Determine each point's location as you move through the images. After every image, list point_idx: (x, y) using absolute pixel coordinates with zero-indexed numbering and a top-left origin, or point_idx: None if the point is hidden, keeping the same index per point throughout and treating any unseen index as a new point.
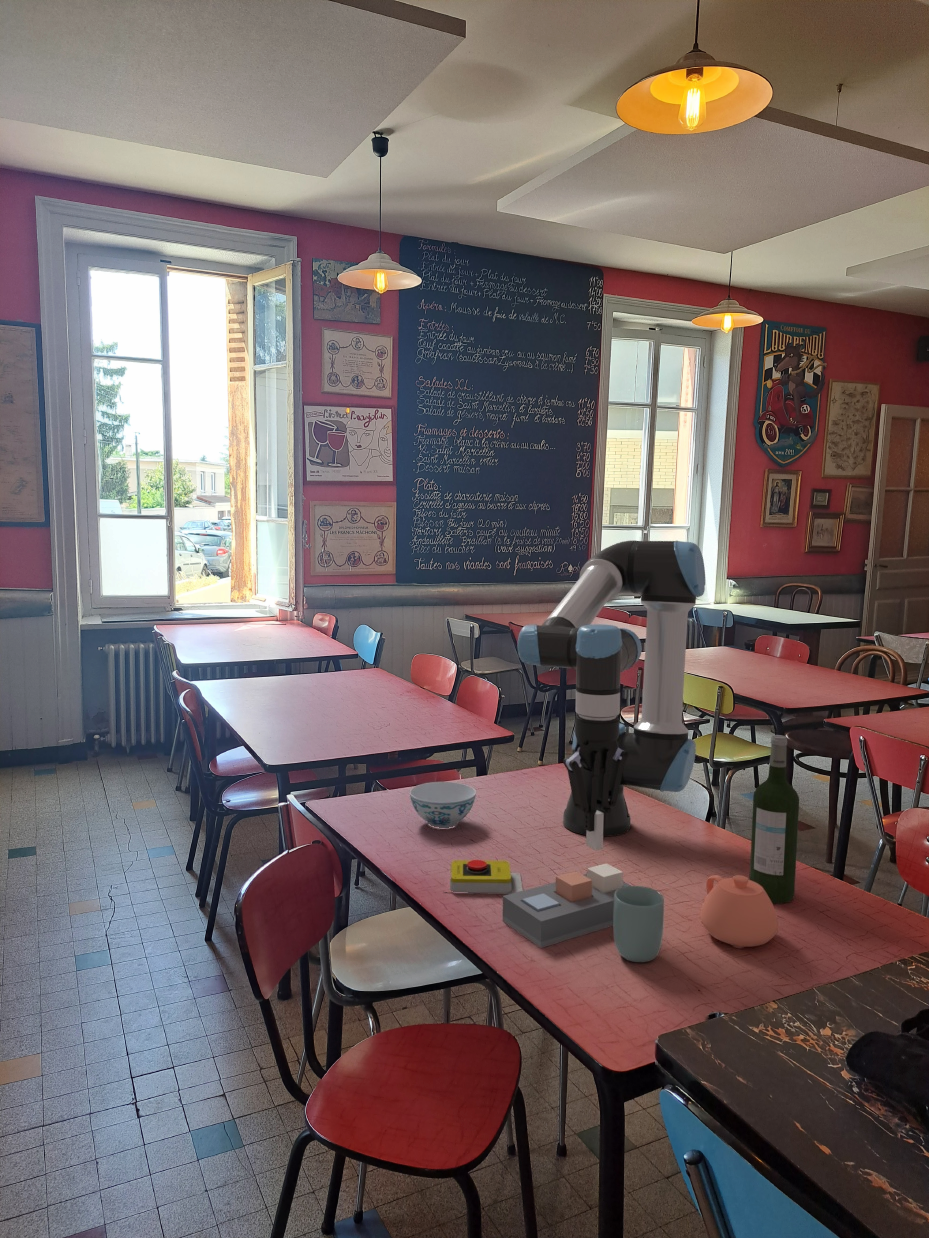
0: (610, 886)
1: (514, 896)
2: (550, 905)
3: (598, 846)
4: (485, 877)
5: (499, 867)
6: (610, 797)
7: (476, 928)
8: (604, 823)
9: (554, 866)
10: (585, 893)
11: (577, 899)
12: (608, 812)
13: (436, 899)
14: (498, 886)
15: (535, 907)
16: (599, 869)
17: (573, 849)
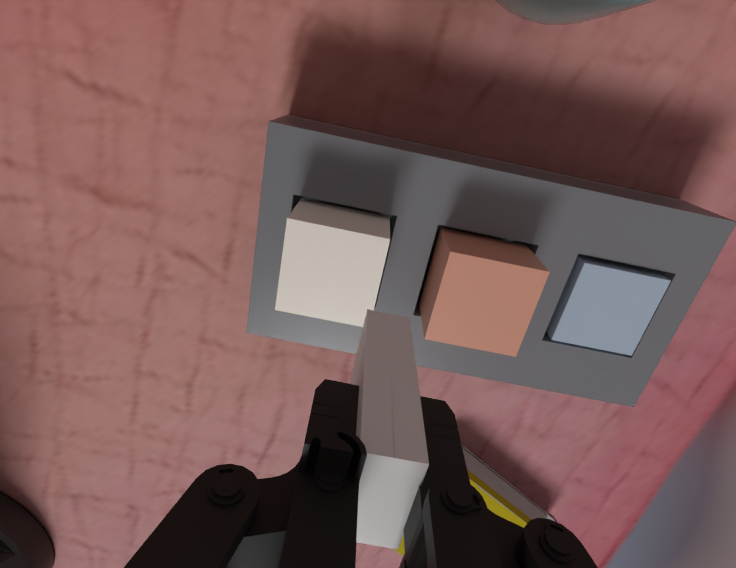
0: (355, 217)
1: (615, 384)
2: (620, 270)
3: (394, 324)
4: (492, 509)
5: None
6: (230, 558)
7: (675, 376)
8: (326, 399)
9: (242, 463)
10: (473, 242)
11: (504, 244)
12: (336, 429)
13: (598, 514)
14: (475, 469)
15: (662, 293)
16: (342, 292)
17: (124, 491)
